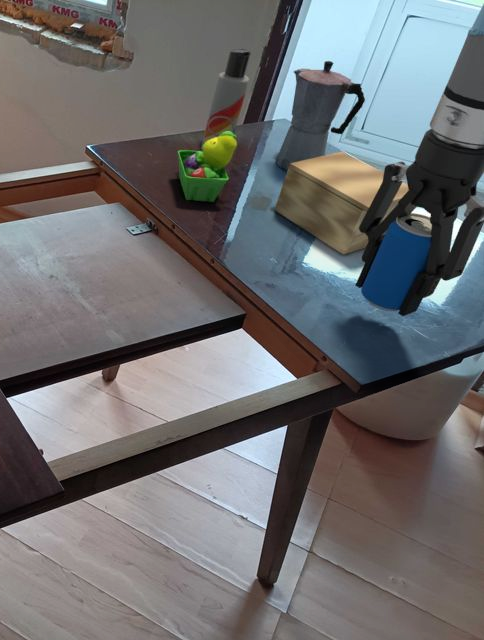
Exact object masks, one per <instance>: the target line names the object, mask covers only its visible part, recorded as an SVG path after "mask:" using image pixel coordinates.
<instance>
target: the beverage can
mask: <svg viewBox="0 0 484 640" xmlns="http://www.w3.org/2000/svg"><path fill="white" fill-rule="evenodd" d="M431 228H432V224H431V223H430V216H427V215H424V214H420V213H416V212H415V213H414V212H412V213H411V214H409V215H407V216H405V217H402V218H398V217H397V218H396V221H394V222H392V223H391V224H390V225H389V227H388V230H387V232H386V234H385V236H384V239H383V241H382V243H381V245H380V248H379V250H378V252H377V254H376V257H375V259H374V261H373V263H372V266H371V268H370V270H369V273H368V275H367V277H366V279H365V282H364V284H363V286H362V287H361V288H360V291H361V295H362V296H363V298H364V299H365V301H366V302H367V303H368V304H369V305H370V306H372V307H374V308H376V309H378V310H381V311H385V312H399V311H400V309H401V307H402V305H403V303H404V301H405V299H406V297H407V295H408V293H409V291H410V289H411V287H412V285H413V283H414V281H415V279H416V277H417V275H418V273H419V272H422V271H425V270H426V267H427V259H428V252H429V248H430V246H431V243H430V237H431V236H432V235H431Z"/></svg>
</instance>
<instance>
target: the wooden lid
mask: <svg viewBox="0 0 484 640" xmlns="http://www.w3.org/2000/svg"><path fill="white" fill-rule="evenodd" d="M289 168H291V169H292V170H294V171H296V172H298V173H300V174H301V175H303V176H305V177H307V178H308V179H310V180H312V181H314V182H315V183H317V184H319V185H321V186H322V187H324V188H326V189H328V190H330V191H331V192H333V193H335V194H337V195H338V196H340V197H342V198H344V199H345V200H347V201H349V202H351V203H352V204H354V205H356V206H358V207H359V208H361V209H363V210H365V211H368V209H369V207H370V205H371V203H372V201H373V199H374V197H375V195H376V193H377V191H378V190H379V188H380V186H381V184H382V182H383V176H384V171H381V170H379V169H377V168H376V167H374V166H372V165H370V164H368V163H366V162H364V161H362V160H359V159H358V158H356V157H354V156H353V155H350V154H348V153H346V152H344V151H338V152H334V153H329V154H325V156H320V157H316V158H311V159H307V160H303V161H298V162H294V163H290V166H289ZM408 191H409V189H408V183H405V182H404V181H403V182H402V184H401V186H400V188H399V190H398V192H397V194H396V196H395V197H394V199H393V201H392V203H391V205H393V204H396V203H398V202H399V200H400V199H401V198H402V197H403V196H404V195H405V194H406V193H407V192H408Z"/></svg>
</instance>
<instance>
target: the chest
mask: <svg viewBox="0 0 484 640" xmlns="http://www.w3.org/2000/svg"><path fill="white" fill-rule="evenodd" d="M286 171H287V172H286V175H285V178H284V181H283V184H282V187H281V189H280V192H279V195H278V198H277V201H276V204H275V207H274V211H275V212H276V213H278V214H280V215H282V216H283V217H285V218H286V219H287V220H289V221H291V222H292V223H293V224H295V225H297V226H299V227H300V228H301V229H303V230H305V231H306V232H308V233H310V234H311V235H312V236H313V237H316V239H318V240H320V241H321V242H323V243H324V244H326V245H327V246H329V247H330V248H332V249H334V250H335V251H337V252H339V253H340V254H342V255H347V254H350V253H352V252H356V251H359V250H363V249H365V248H366V246H367V244H368V237H367V235H366V234H365V233H362V232H360V230H359V226H360V224H361V222H362V220H363V218H364V216H365V215H366V213H367V211H365V210H363V209H361V208H359V207H358V206H356V205H354V204H352V203H351V202H349V201H347V200H345V199H344V198H342V197H340V196H338V195H337V194H335V193H333V192H331V191H330V190H328V189H326V188H324V187H322V186H321V185H319V184H317V183H315V182H314V181H312V180H310V179H308V178H307V177H305V176H303V175H301V174H300V173H298V172H296V171H294V170H292V169H291V168H288V170H286ZM397 205H398V203H396V204H393V205H390V207H389V209H388V210H387V212H386V214H385V216H384V218H383V220H384V219H385V218H386V217H387V216H388V214H389V213H390V212H391V211H392V210H393V209H394V208H395V207H396V206H397ZM383 220H382V221H383ZM382 221H381V222H382Z"/></svg>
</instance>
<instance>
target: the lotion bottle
mask: <svg viewBox="0 0 484 640" xmlns="http://www.w3.org/2000/svg"><path fill="white" fill-rule="evenodd" d="M251 55H252V52H251V51H250V50H248V49H245V48H237V49H231V50H230V51H229V54H228V58H227V61H226V66H225V70H224V71H222V72H219V75H218V77H217V81H216V85H215V89H214V93H213V96H212V97H213V98H212V101H211V105H210V110H209V112H208V113H209V114H208V117H207V122H206V126H205V129H204V134H203V138H202V142H201V148H200V151H202V152H203V148H202V147H203V145H204V143H205V142H206V141H208V140H210V139H212V138H215V137H219V136H220V134H222V133H223V132H225V131H231V132H232V133H233V134H234V135H235V133H236V129H237V127H238V122H239V119H240V115H241V111H242V108H243V103H244V100H245V96H246V93H247V89H248V86H249V82H250V78H249V76H248V75H246V74H247V70H248V66H249V62H250V58H251Z"/></svg>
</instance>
